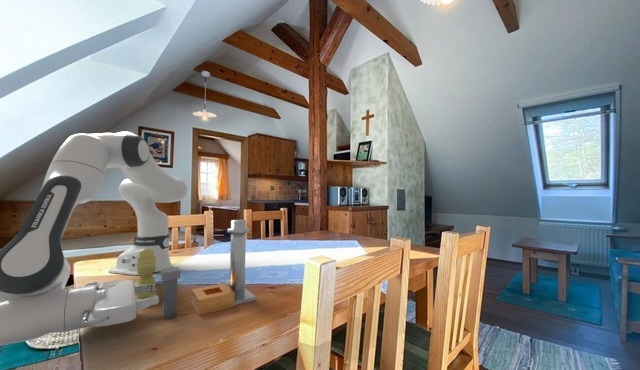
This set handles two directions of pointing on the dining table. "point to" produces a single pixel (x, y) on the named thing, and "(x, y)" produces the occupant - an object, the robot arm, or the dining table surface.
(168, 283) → the grey square peg
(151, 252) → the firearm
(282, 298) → the dining table surface
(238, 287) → the metal post on base
